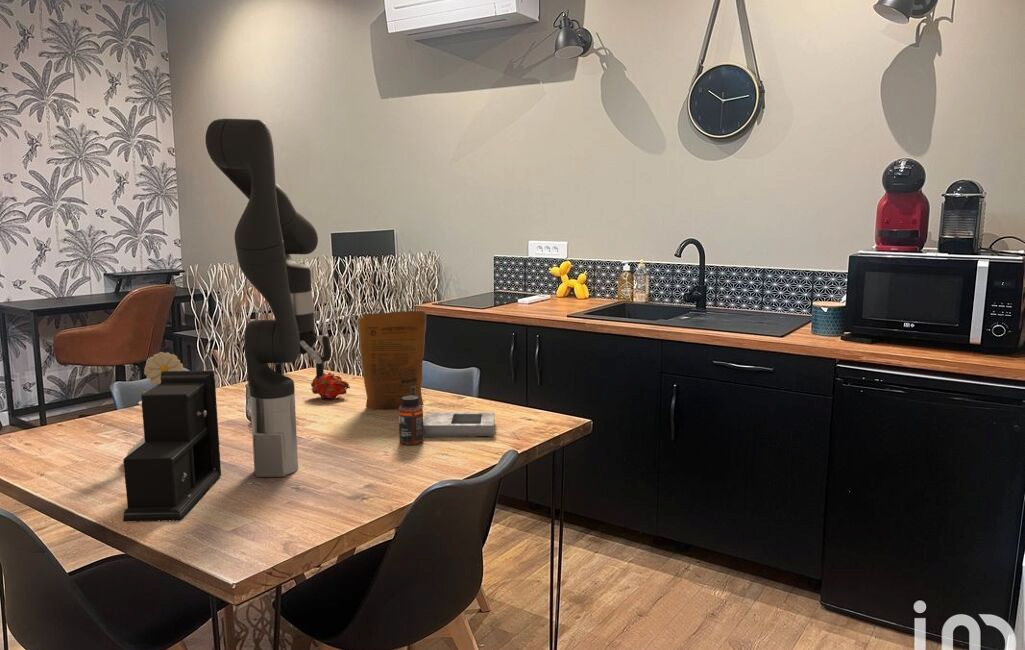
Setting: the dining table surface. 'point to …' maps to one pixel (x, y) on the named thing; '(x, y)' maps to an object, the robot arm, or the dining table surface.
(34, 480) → the dining table surface
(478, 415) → the grey block with hole
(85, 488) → the dining table surface
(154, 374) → the flower in vase
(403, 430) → the supplement bottle
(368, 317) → the pancake mix bag
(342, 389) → the dragon fruit
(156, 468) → the black drawer cabinet
